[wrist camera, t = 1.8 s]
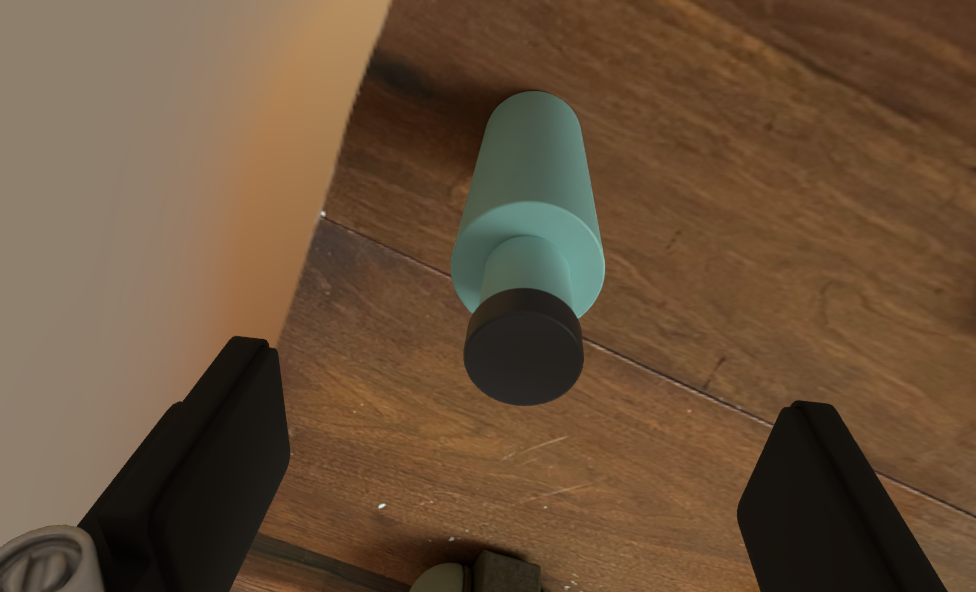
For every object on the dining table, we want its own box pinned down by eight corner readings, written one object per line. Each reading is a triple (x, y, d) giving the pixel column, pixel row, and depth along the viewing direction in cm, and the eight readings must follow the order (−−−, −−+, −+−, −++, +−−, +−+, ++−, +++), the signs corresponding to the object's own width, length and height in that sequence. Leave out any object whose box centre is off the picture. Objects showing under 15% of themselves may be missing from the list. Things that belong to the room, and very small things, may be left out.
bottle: (488, 85, 24) (429, 268, 11) (589, 95, 24) (640, 291, 11) (480, 180, 26) (424, 421, 14) (573, 190, 26) (601, 442, 13)
